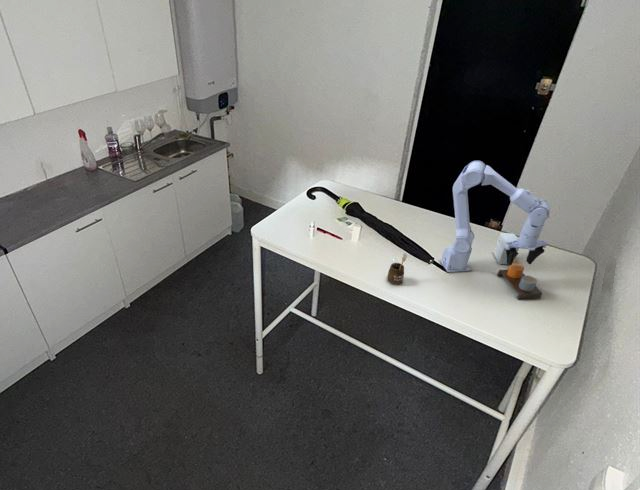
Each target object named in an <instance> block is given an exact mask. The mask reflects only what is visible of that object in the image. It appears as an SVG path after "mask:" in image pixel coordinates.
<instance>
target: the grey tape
mask: <svg viewBox="0 0 640 490" xmlns="http://www.w3.org/2000/svg"><path fill="white" fill-rule="evenodd" d="M537 283H538V280H537V279H536V278H535V277H533V276H531V275H525V276H523V277H522V279H521V281H520V284H519V288H520V289H522V290H524V291H528V292H530V291H533V290H534V287H535V286H536V285H537Z"/></svg>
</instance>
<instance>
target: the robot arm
mask: <svg viewBox="0 0 640 490" xmlns="http://www.w3.org/2000/svg"><path fill="white" fill-rule="evenodd" d="M480 184H481V186H489V185H490V186H492V187H494V188H496V189H498V191H501V192H502V193H504V194H505V195H506V196H508V197H509V202H511V203H512V204H514V205H515V206H516V207H518V208H519V209H521V210H522V211H523V212H524V213H526V214H528V215H527V218H526V219H525V221H524V224H523V225H522V229H521V232H520V234H519V236H518V240H516V241H513V242H509V243H506V244H505V246H504V247H505V249H506V254H507V262H506V263H507V264H506V265H508V266H510V265H512V263H513V261H514V259H515V260H516V258H517V256H519V251H518V252H517V251H516V248H519V249H521V250H522V249H523V250H528V254H527V256H526V261H525V262H526V263H527V264H528V265H532V264H533V262H534V261H535V260H536V259H537V258H538V257H539V256H541V255H542V254H544V253H545V249H546V248H547V246H548V242H547V241H545V240H540V239H539V238H540V236H541V234H542V231H543V228H544V226H545V222H546V221H547V220H548V219H549V218H550V204H549V202H547V201H546V200H545V199H542V198H538V197H536V195H535V196H534V194H533V193H531V190H529V189H525V188H517V187H516V186H515V185H513V184H512V183H511V182H510V181H508V180H507V179H506V178H504V177H503V176H501V174H499V173H498V172H497V171H495V170H494V169H493V168H492V167H491V166H490V165H488V164H485V163H484V162H483V161H481V160H473V161H471V162H469V163H468V164H467V165H465V166H464V168H463V169H462V171H461V172H460V174H459V175H458V177H457V178H456V180H455V181H454V183H453V186H452V198H453V199H452V200H453V209H454V219H455V220H454V221H455V240H454V242H453V243H452V245H451V246H450V247H446V248H444V249H443V252H442V255H441V256H442V257H441V259H440V260H439V262H440V263H441V265H442V266H443V268H444V269H445V270H446V272H447V273H455V272H470V271H471V270H472V269H471V268H470V267H469V265H468V264H469V261H470V258H471V257H470V256H471V254H472V250H473V248H472V245H473V241H474V239H475V233H474V231H473V230H472V225H471V223H470V210H469V208H470V207H469V196H468V195H469V193H468V190H469V189H471V188H473V187H475V186H478V185H480ZM515 257H516V258H515ZM514 262H515V261H514Z"/></svg>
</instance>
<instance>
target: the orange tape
mask: <svg viewBox="0 0 640 490" xmlns="http://www.w3.org/2000/svg"><path fill="white" fill-rule="evenodd" d="M507 270H508V272H507V274H508V275H509V276H510V277H512V278H520V277H521V275H522V273H524V271H525V267H524V266H523V265H522V264H520V263H516V262H514V263H512V265H509V267H508V269H507Z"/></svg>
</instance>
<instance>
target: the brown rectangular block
mask: <svg viewBox="0 0 640 490" xmlns="http://www.w3.org/2000/svg"><path fill="white" fill-rule="evenodd" d="M507 272H508V269H499V270H498V272H497V275H496V276H497V277H503V278H504V279H505V280H506V281H507V282H508V283H509V285H510V286H511V287H512V288H513V289H514V290H515V291H516V292H517V293H518V294H517V296H516V299H518V300H533V299H541V297H542V295H543V292H542V291H541V289H540V288H539V287H537V286H536V285H535V287H534V290H533V291H530V292H528V291H524V290H522V289H520V288H519V284H520V281H521V279H522V277H523V276H526V274H525V273H524V272H523V273H522V275H521V277H520V278H512V277H510V276H509V275H508V274H507Z"/></svg>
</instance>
